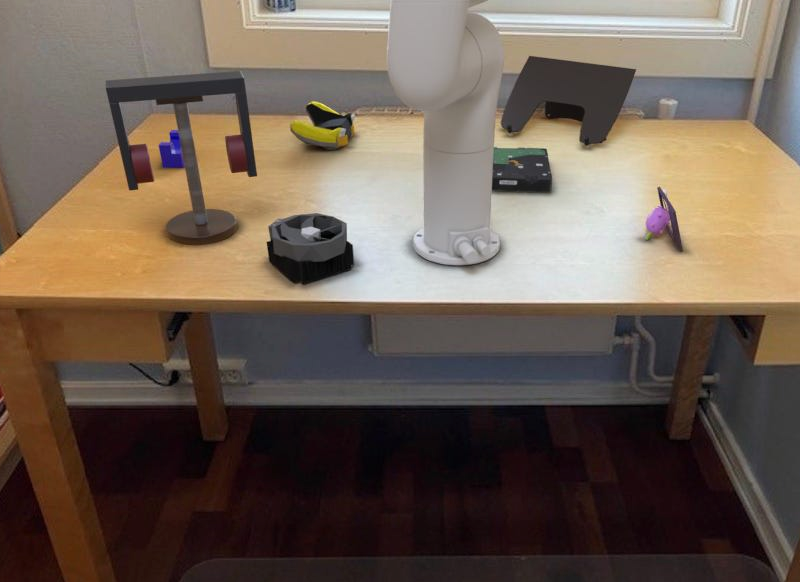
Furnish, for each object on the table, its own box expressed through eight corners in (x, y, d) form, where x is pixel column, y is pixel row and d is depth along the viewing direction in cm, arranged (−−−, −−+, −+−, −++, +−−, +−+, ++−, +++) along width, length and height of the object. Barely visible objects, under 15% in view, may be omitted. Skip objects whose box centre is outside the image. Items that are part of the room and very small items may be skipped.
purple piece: (680, 209, 110) (664, 184, 118) (644, 220, 111) (630, 195, 118) (688, 249, 114) (671, 223, 121) (652, 260, 115) (638, 233, 122)
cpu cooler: (360, 231, 104) (291, 251, 99) (362, 269, 107) (296, 290, 102) (322, 205, 111) (256, 222, 106) (326, 241, 114) (261, 260, 109)
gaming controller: (289, 152, 144) (342, 155, 143) (286, 123, 141) (340, 126, 140) (310, 126, 156) (359, 129, 156) (307, 99, 153) (358, 101, 152)
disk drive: (552, 194, 131) (545, 161, 143) (553, 179, 129) (546, 146, 141) (490, 193, 131) (489, 160, 143) (491, 177, 129) (489, 145, 141)
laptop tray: (495, 157, 160) (490, 124, 153) (531, 82, 170) (528, 46, 163) (605, 176, 153) (605, 142, 146) (635, 96, 163) (637, 60, 156)
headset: (258, 178, 112) (245, 79, 105) (129, 193, 107) (105, 89, 99) (252, 165, 116) (239, 69, 109) (128, 179, 111) (105, 78, 103)
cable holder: (183, 167, 137) (179, 145, 134) (162, 167, 136) (158, 145, 134) (195, 151, 143) (191, 130, 141) (175, 151, 143) (171, 129, 141)
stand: (241, 239, 114) (221, 101, 103) (169, 249, 111) (140, 108, 100) (232, 212, 122) (212, 81, 110) (165, 220, 119) (137, 86, 107)
